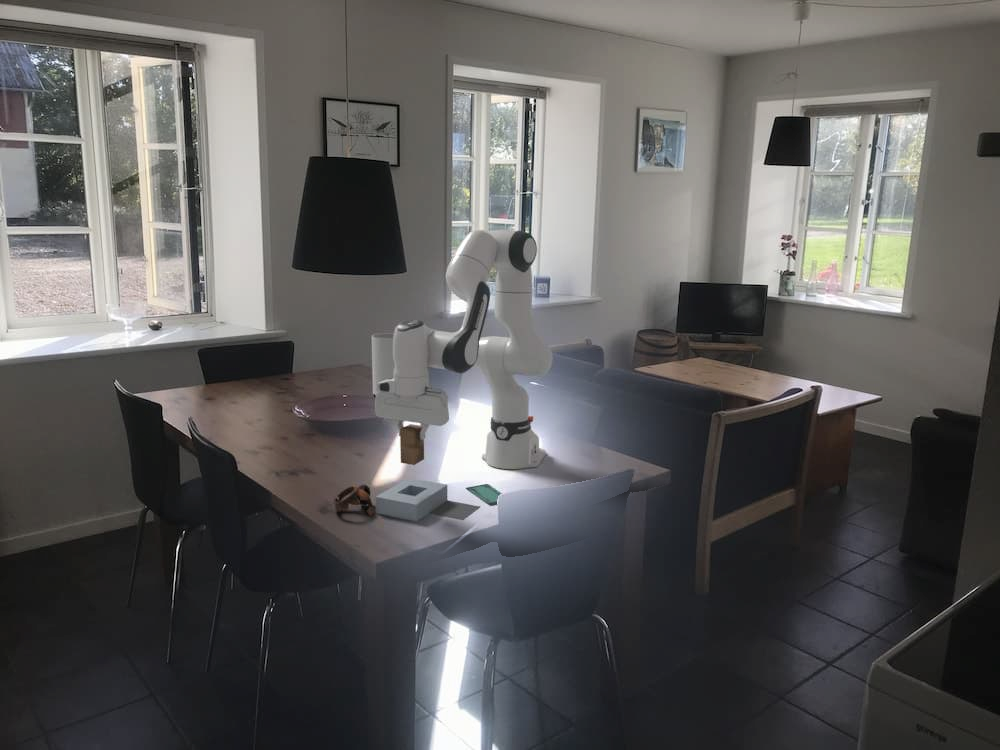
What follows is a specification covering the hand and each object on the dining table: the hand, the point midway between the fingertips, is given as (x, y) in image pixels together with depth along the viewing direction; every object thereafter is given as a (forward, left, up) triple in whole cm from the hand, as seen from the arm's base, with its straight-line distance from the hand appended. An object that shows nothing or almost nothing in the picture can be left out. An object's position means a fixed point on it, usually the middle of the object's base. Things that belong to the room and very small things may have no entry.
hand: (412, 437), depth 205 cm
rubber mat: (-3, +11, -19) cm, 22 cm away
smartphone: (-17, +14, -20) cm, 30 cm away
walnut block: (0, 0, -6) cm, 6 cm away
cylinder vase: (-101, -73, -20) cm, 126 cm away
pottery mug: (+9, -12, -20) cm, 24 cm away
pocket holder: (0, 0, -19) cm, 19 cm away
